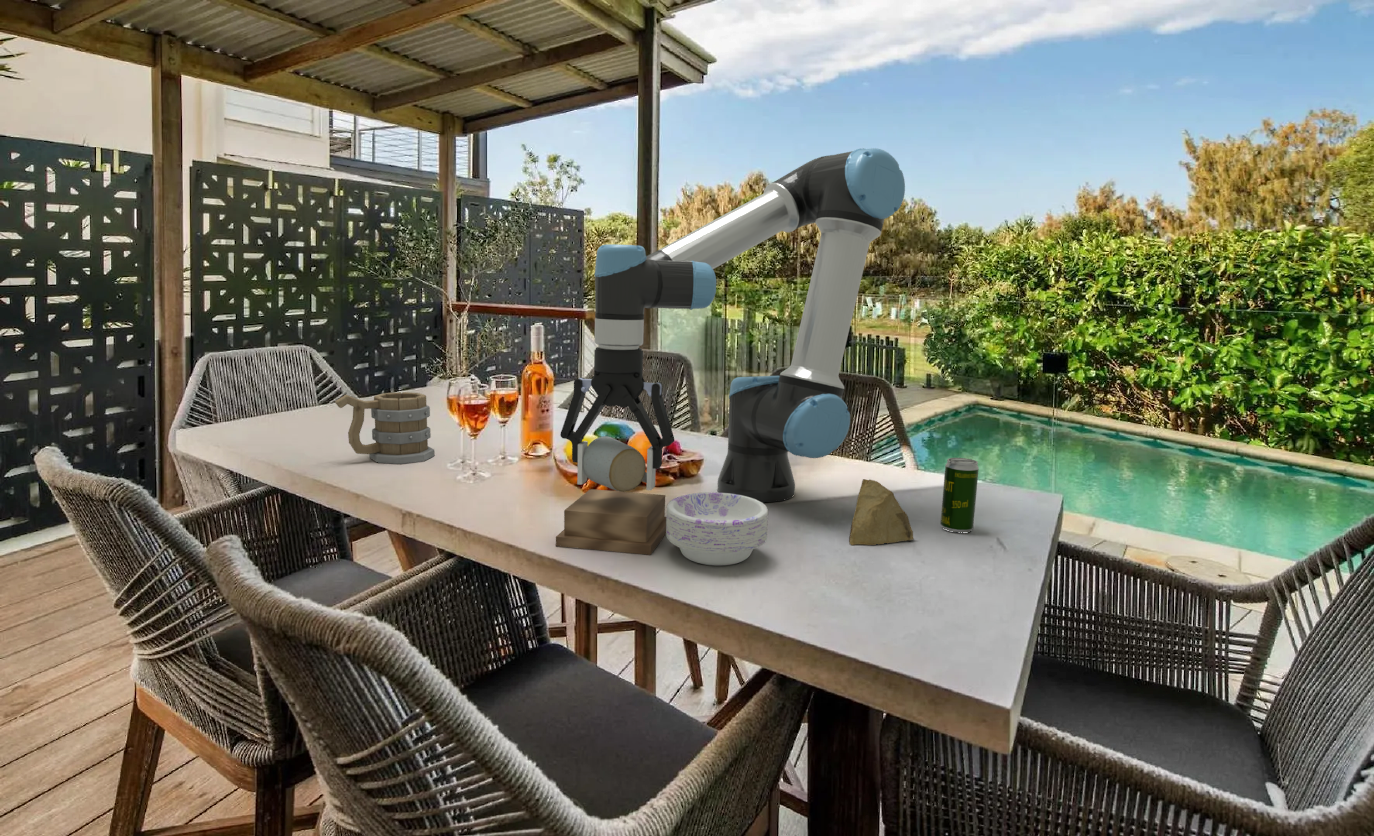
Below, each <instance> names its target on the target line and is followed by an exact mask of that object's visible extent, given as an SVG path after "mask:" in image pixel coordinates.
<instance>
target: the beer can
mask: <svg viewBox="0 0 1374 836" xmlns="http://www.w3.org/2000/svg"><path fill="white" fill-rule="evenodd" d="M978 464H979V462H978V461H977V460H976V459H975V460H974V459H973V458H972V459H971V458H965V457H949V458H947V461H946V464H945V466H944V479H943V489H942V501H941V503H942V504H941V515H940V526H942V527H941V528H944V529H947V530H949V531H953V532H960V533H961V532H962V533H963V532H970V531H971V530H972V531H973V529H974V525H975V523H974V522H975V512H976V503H977V493H978V492H977V490H978V479H979V471H980V468H979V466H978ZM972 531H971V532H972ZM971 532H970V533H971Z"/></svg>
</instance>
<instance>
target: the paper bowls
mask: <svg viewBox="0 0 1374 836" xmlns="http://www.w3.org/2000/svg"><path fill="white" fill-rule="evenodd" d="M665 509H666V510H665V515H666V516H665V517H667V519H666V520H667V521H666V534H665V536H666V539H667V540H668V541H669V543H671V544H672V545H674V546H676V547H678V548H679V550H680V552H681V554H682V555H683V557H685V558H686V559H688V560H689V561H692V562H694V563H698V564H702V565H707V566H719V567H720V566H731V565H735V564H738V563H739V564H740V563H741V562H743V561H745V560H747V559H748V558H749V557H750V556H751V554H752V553H753V550H755V549H757V548H759V547H761V546H763V545H765V543H766V541H767V539H768V525H769V524H768V523H769V509H768V507H767V505H766V504H764V502H760V501H758V500H756V499H753V498H750V497H747V496H742V495H737V494H730V493H719V492H714V491H713V492H697V493H695V492H694V493H689V494H688V493H687V494H685V495H680V496H677V497H675V498H673V499H671V500H670V501H669V502H668V503H667V505H666V506H665Z"/></svg>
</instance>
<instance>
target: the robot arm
mask: <svg viewBox="0 0 1374 836" xmlns="http://www.w3.org/2000/svg"><path fill="white" fill-rule="evenodd" d="M905 183H906V181H905V177H904V174H903V170H901V169H900V164H899V163H898V161H897V159H896V158H895V157H893V155H891V153H889V152H887V151H886V150H884V149H881V148H876V147H875V148H874V147H873V148H872V147H871V148H863V147H862V148H857V149H854V150H851V151H847V152H842V153H836V154H830V155H823V156H820V157H817V158H814V159H811V160H810V161H808V162H806V163H803V164H802V165H799V167H797V168H794V169H793V170H792V171H790V172H788V173H786V174H785V175H783V176H782V177H779V178H778V179H777V180H775V181H773V182H771V183H769V184H767V185H766V186H765V188H764V191H763V194H760V195H758V196H756V197H755V198H753V199H751V200H749V201H747V202H746V203H744V204H742V205H740V206H738V207H737V208H734V209H733V210H731V211H729V212H726V213H724V214H723V215H721V216H720V217H717V218H716V219H714V220H712V221H710V222H708V223H706V224H704V225H703V226H700V227H699V228H697V229H695V230H693V231H691V232H689V233H688V234H686V235H684V236H682V237H680V238H678V239H675V240H674V241H672V242H670V243H669V244H667V245H665V246H664V247H661V248H660V249H658V250H656V251H654V252H651V253H650V254H648V255H647V254H646V249H645V248H644V246H642V245H635V244H617V243H615V244H612V243H610V244H608V243H607V244H603V245H601V246H599V247H598V248H597V251H596V256H595V257H596V258H595V268H594V281H595V282H594V285H595V287H594V290H595V293H594V295H595V297H594V298H595V302H594V304H595V305H594V306H595V311H594V312H595V313H594V340H593V341H594V344H596V345H597V347H595V349H594V352H593V353H594V355H593V356H594V358H593V359H594V360H593V366H594V367H593V372H594V373H593V377H592V378H585V377H579V378H577V379H575V380H573V395H572V398H571V401H570V404H569V407H568V410H567V414H566V415H565V416H566V417H565V419H564V423H563V425H562V429H561V431H560V435H559V436H560V437H561V439H566V440H568V441H570V442H571V460H572V463H575V464H576V463H577V477H576V478H577V485H583V484H585V483H586V482H588V477H587V476H586V474H585V472H584V469H583V456H584V452H585V450H586V448H587V447H588V445H589V444H588V443H589V442H588V441H587V440H584V439H585V436H586V435H587V433H588V432H589V430H590V429H591V428H592V425H593V424H594V422H595V421H596V419H597V418H598V417H599V415H600V413H601V412H602V410H603V409H604V408H605V407H610V408H611V407H619V408H627V407H628V408H629V410H630V411H631V413H632V414H633V415H634V417H635V418H636V420H637V423H638V424H639V425H640V427H641V429H642V431H643V433H644V434H645V437H646V438H647V440H648V441H649V443H650V444H651V446H650V447H648V448H647V449H646V450H647V451H646V452H647V453H646V454H647V456H646V459H647V460H646V472H647V483H646V491H652V490H653V489H654V488H655V487H656V470H658V469H660V468H661V467H662V465H663V449H664V448H665V447H670V446H671V445H672V444H674V443H675V436H674V433H673V428H672V425H671V423H670V419H669V416H668V411H667V409H666V408H667V407H666V406H665V403H664V398H663V388H664V387H663V386H664V385H663V383H662V382H660V381H657V382H648V381H647V382H646V380H645V379H644V375H643V372H644V370H643V367H644V351H643V349H642V348H640V346H642V345H644V330H645V329H644V328H645V326H644V324H645V323H644V322H645V308H646V309H670V310H671V309H673V310H674V309H675V310H679V309H680V310H686V309H687V310H690V311H692V310H695V309H696V310H698V309H700V310H702V309H706V308H708V307H710V305H712V303H713V301H714V298H715V296H716V293H717V277H716V273H715V270H714V269H716V268H718V267H720V266H721V265H724V264H725V263H726V262H727V263H728V262H729V261H730V260H732V259H734V258H736V257H738V256H739V255H741V254H742V253H745V252H746V251H748V250H750V249H752V248H753V247H755V246H757V245H760V244H761V243H763V242H765V241H766V240H768V239H770V238H772V237H773V236H775V235H778V234H779V233H781V232H784V233H792V232H793V231H795V230H797V229H799V228H802V227H804V226H807V225H811V224H815V225H816V227H817V228H818V230H819V231H820V239H819V242H818V247H817V252H816V255H815V259H814V264H813V269H812V273H811V276H810V277H811V278H810V282H809V286H808V290H807V294H806V298H805V303H804V308H803V311H802V317H801V320H800V324H799V329H798V333H797V338H796V342H795V346H794V350H793V355H792V359H791V363H790V366H788V368H785V370H783V371H781V372H780V374H779V375H762V376H761V375H759V376H756V375H755V376H739V377H735V378H734V379H732V380H731V383H730V388H729V394H728V400H729V405H728V407H729V408H728V412H729V413H728V434H727V435H728V437H727V438H728V440H727V441H728V442H727V454H726V456H725V459H724V462H723V465H722V467H721V470H720V473H719V476H718V479H717V489H716V490H717V493H730V494H737V495H742V496H747V497H750V498H753V499H756V500H758V501H760V502H762V503H771V502H773V503H774V502H775V503H776V502H781V500H782V501H785V500H784V499H786V500H790V499H791V497H792V496H793V495H794V494H796V482H795V479H794V478H795V477H794V474H793V471H792V467H791V463H790V460H789V455H788V453H790V454H792V455H794V456H798V457H804V458H808V459H820V458H824V457H826V456H829V455H830V454H831V453H832V452H833V451H836V450H837V449H838V448H839V447H840V446H841V445H842V443H843V442H844V441H845V439H846V437H847V435H848V432H849V429H850V427H851V426H850V425H851V414H850V411H849V410H848V405H847V404H846V402H845V401H844V399H843V397H844V391H845V385H844V383H843V382H842V380H841V379H840V377H839V376H840V375H839V374H840V371H841V366H842V361H843V359H844V358H843V357H844V353H845V348H846V345H847V341H848V336H849V332H850V328H851V324H852V320H853V315H854V311H855V306H856V302H857V298H858V294H859V289H860V285H861V281H862V278H863V273H864V268H865V264H866V262H867V261H866V260H867V256H868V251H869V248H870V244H871V243H872V242H873V241H874V240H876V239H877V238H879V237H880V236H881V235H882V231H883V227H884V222H885V220H886V219H888V218H889V217H890V216H893V215H894V214H895V212H898V210H899V209H900V208H901V206H902V204H903V202H904V198H905V195H906V194H905V191H906V185H905ZM590 388H592V389H593V390H594V392H595V394H596V395H597V397H596V398H595V400H594V401H593V403H592V405H591V407H590V409H589V410H588V412H587V413H586V415H585V416H584V418H583V419H582V421H581V422H580V423H579V426H578V427H577V429H576V430H575V431H574V429H575V427H576V424H577V420H578V418H579V416H580V412H581V409H582V406H583V403H584V400H585V397H586V393H587V392H589V391H590ZM644 390H645V391H646V393H647V395H648V396H649V398H651V405H652V407H653V411H654V414H655V417H656V418H655V419H656V421H657V425H658V427H659V431H660V434H659V432H658V430H657V428H656V427H655V425H654V423H653V421H652V419H651V418H650V416H649V415H648V412H647V411H646V409H645V407H644V403H643V402H642V400H641V399H640V395H641V394H642V393H643V391H644ZM794 496H795V495H794ZM794 496H793V497H794ZM793 497H792V498H793Z"/></svg>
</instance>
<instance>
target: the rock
mask: <svg viewBox="0 0 1374 836" xmlns="http://www.w3.org/2000/svg"><path fill="white" fill-rule="evenodd" d="M850 525H851V526H850V531H849V537H848V543H849V545H850V544H851V545H850V546H855V545H856V546H857V545H865V546H874V545H876V544H878V545H885V544H884V543H887V544H892V543H900V542H906V541H913V540H915V538H914V531H913V528H912V525H911V523H910V520H909V516H908V514H907V512H906V511H904V510H903V508H902V507H901V505H900V503H899V501H898V500H897V499H896V496H895V495H894V493H893V491H892V490H890V489H889V488H887V487H885V486H884V485H883V484H881V483H880V482H878V480H873V479H865V478H864V479H862V481H861V486H860V489H859V492H858V495H857V500H856V504H855V510H854V513H853V518H852V521H851V524H850Z"/></svg>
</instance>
